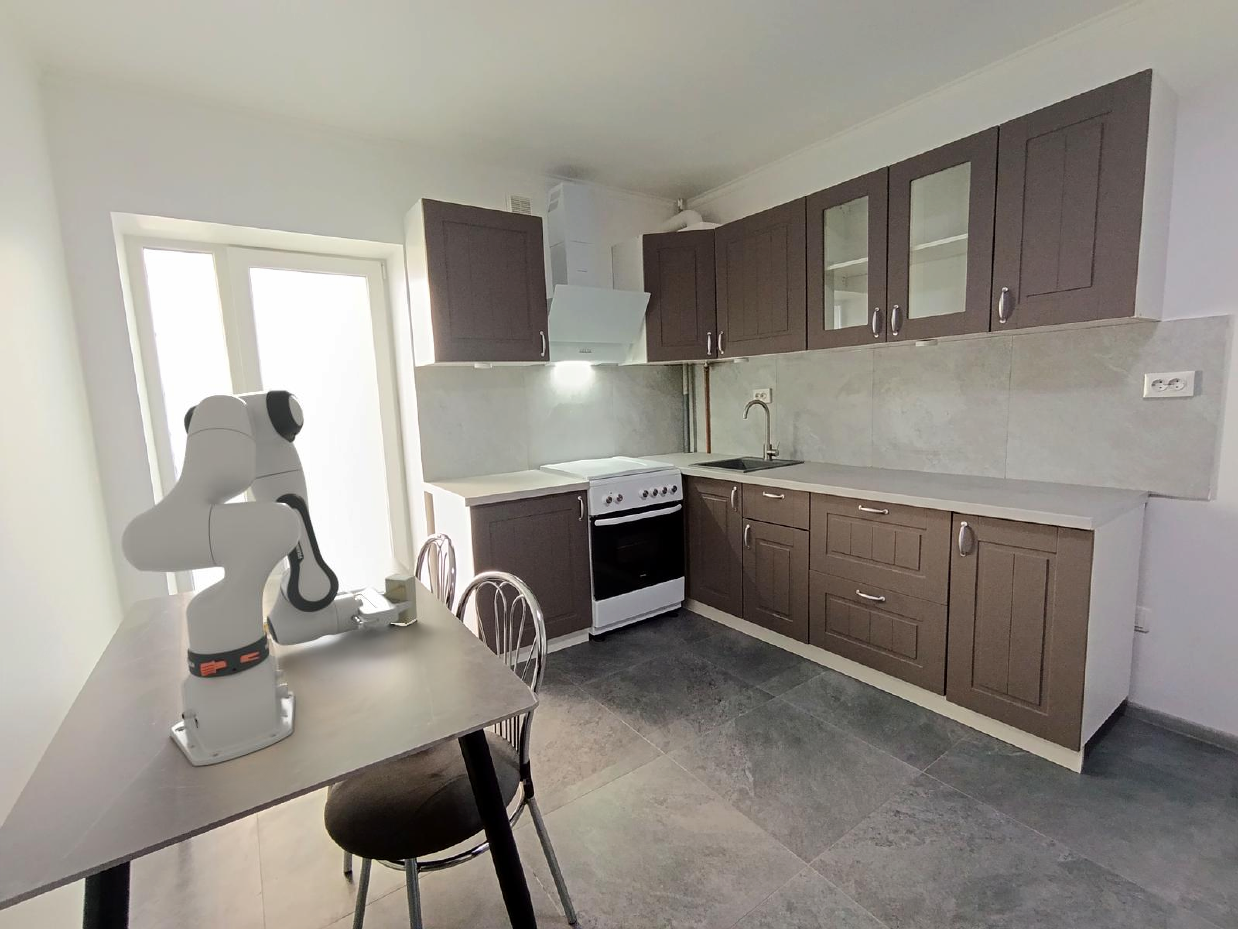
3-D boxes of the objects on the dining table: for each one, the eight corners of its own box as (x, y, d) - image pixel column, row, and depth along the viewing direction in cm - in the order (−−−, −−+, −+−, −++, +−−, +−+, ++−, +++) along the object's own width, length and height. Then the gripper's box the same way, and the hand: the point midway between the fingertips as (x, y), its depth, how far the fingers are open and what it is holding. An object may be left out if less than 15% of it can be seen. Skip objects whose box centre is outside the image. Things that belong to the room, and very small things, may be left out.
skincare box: (386, 625, 145) (383, 578, 144) (398, 618, 150) (394, 573, 148) (407, 627, 144) (404, 580, 142) (418, 620, 148) (415, 574, 146)
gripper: (357, 612, 129) (418, 597, 138) (335, 590, 145) (391, 578, 154) (359, 638, 130) (420, 622, 139) (337, 614, 146) (392, 600, 155)
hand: (404, 599), depth 146 cm, fingers closed on skincare box, 7 cm apart
